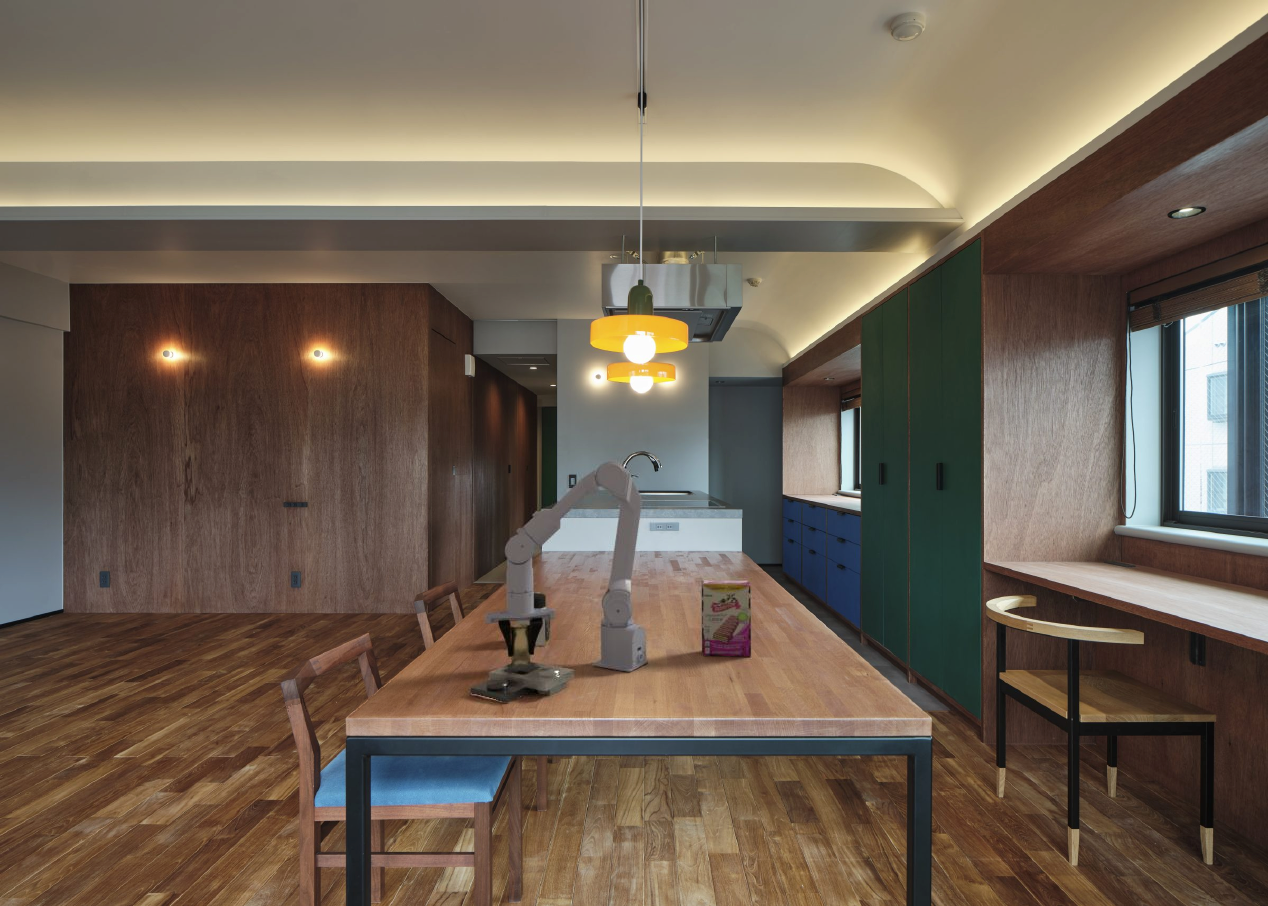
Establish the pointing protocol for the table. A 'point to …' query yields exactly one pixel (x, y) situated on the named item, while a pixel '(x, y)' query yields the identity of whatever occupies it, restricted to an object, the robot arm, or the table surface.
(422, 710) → the table surface
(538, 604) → the medicine bottle
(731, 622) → the candy bar box
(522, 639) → the brass pin
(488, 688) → the black base board
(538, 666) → the grey square hole plate
